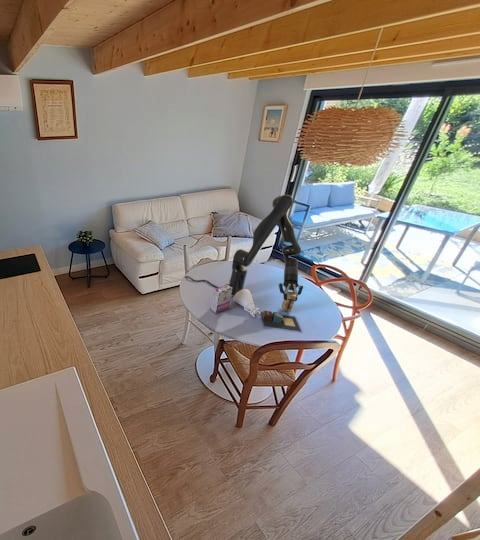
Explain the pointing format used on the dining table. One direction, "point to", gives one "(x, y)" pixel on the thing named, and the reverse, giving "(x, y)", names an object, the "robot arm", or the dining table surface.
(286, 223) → the robot arm
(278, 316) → the letter block
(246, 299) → the rocket engine
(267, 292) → the dining table surface
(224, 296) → the candy bar box
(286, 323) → the word mat
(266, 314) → the letter block
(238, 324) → the dining table surface
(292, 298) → the tan rectangular block
